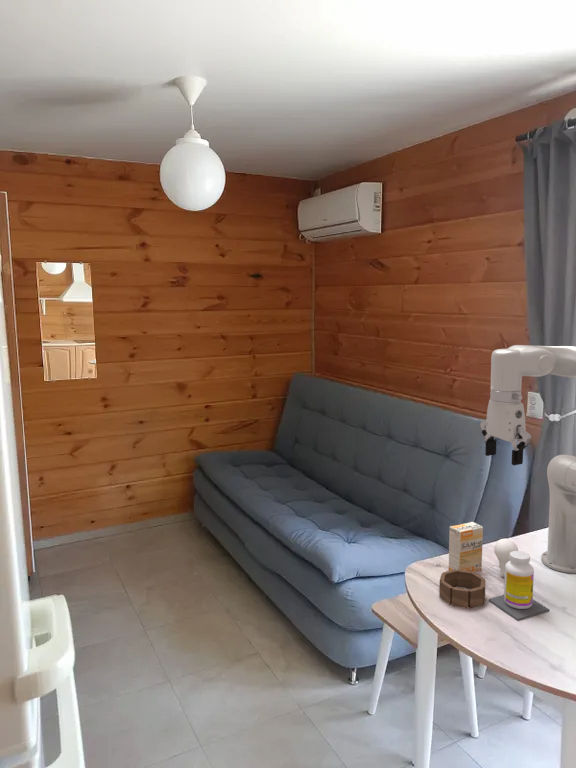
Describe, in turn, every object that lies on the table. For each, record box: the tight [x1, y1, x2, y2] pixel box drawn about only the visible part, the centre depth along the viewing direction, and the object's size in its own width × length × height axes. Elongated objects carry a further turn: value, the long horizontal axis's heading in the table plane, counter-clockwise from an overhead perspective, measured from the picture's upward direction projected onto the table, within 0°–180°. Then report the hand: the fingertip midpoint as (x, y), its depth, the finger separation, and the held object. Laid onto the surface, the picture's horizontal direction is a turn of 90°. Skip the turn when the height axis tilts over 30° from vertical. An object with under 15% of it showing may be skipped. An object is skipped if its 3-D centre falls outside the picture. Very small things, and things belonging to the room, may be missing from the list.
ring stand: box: [438, 569, 487, 609], centre depth 149 cm, size 11×11×4 cm
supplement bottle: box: [503, 550, 535, 609], centre depth 143 cm, size 7×7×13 cm
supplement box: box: [448, 521, 484, 573], centre depth 162 cm, size 8×5×13 cm, turn 113°
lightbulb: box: [493, 538, 519, 579], centre depth 157 cm, size 6×6×11 cm
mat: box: [488, 594, 550, 622], centre depth 144 cm, size 10×10×1 cm
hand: (503, 459), depth 153 cm, fingers open, 9 cm apart
